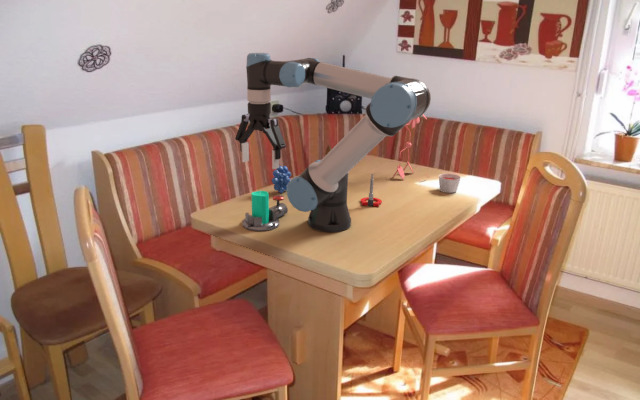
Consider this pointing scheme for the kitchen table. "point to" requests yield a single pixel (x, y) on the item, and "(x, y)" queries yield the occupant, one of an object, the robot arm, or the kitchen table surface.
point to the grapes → (281, 178)
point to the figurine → (408, 145)
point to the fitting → (274, 212)
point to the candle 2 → (449, 182)
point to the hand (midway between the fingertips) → (260, 164)
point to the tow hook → (371, 197)
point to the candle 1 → (260, 205)
